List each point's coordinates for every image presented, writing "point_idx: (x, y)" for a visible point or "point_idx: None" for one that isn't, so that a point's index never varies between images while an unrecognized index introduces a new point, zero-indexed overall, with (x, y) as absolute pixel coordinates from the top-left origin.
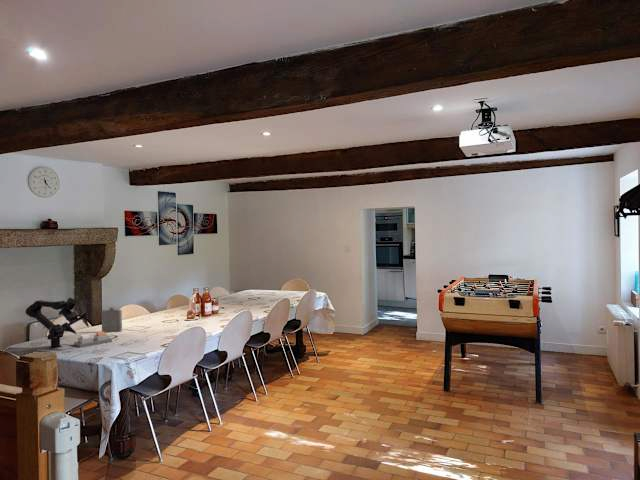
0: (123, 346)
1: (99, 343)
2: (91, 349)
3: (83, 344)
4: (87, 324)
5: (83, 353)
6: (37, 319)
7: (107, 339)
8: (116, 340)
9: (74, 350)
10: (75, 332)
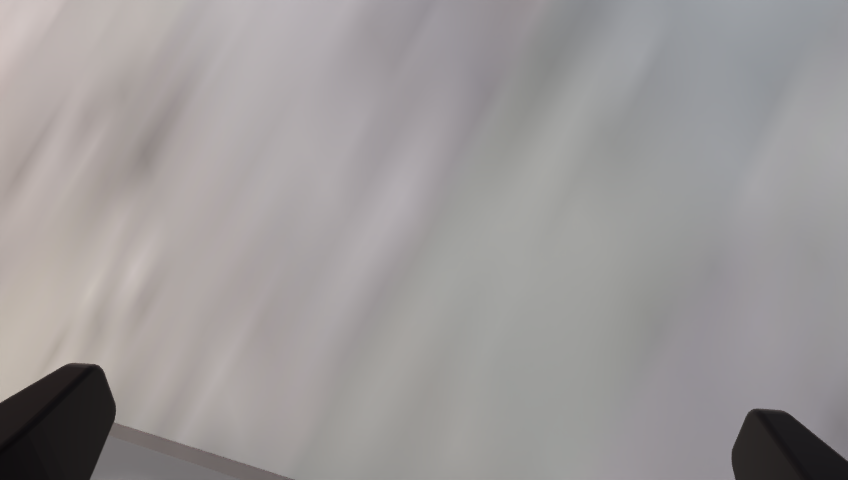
0: (208, 35)
1: (236, 464)
2: (509, 216)
3: None
4: (11, 424)
5: (750, 41)
6: None
7: None
8: None
9: None
10: (805, 431)
